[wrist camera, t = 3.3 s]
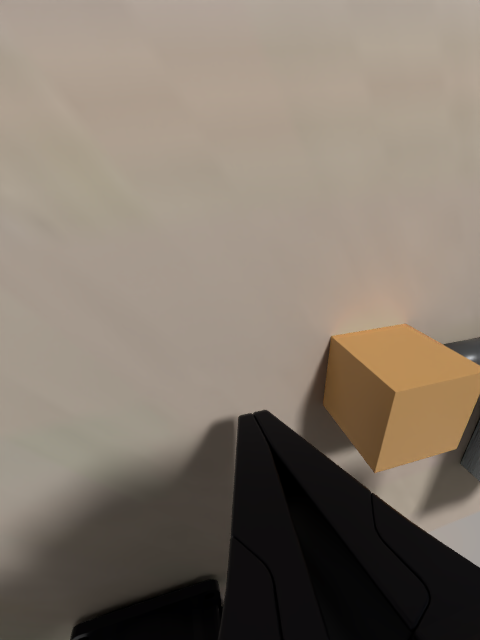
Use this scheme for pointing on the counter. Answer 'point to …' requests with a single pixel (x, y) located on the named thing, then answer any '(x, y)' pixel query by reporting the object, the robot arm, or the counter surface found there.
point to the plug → (401, 393)
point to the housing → (473, 454)
